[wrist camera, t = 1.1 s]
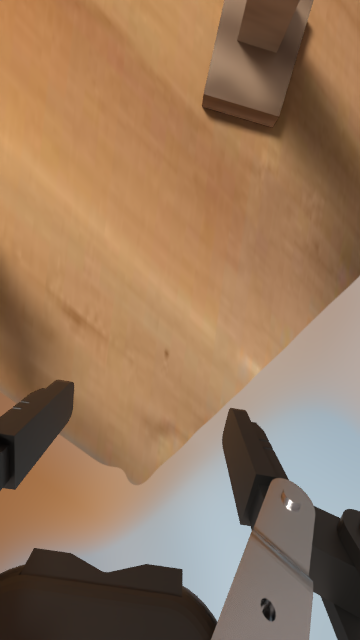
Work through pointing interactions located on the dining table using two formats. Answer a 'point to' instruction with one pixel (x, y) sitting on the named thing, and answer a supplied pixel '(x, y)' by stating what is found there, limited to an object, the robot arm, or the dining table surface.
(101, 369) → the dining table surface
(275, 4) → the wooden pedestal stand
